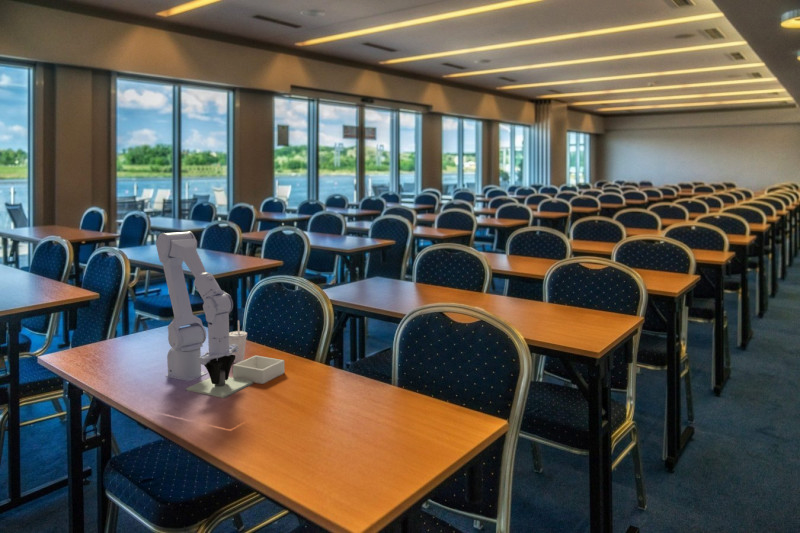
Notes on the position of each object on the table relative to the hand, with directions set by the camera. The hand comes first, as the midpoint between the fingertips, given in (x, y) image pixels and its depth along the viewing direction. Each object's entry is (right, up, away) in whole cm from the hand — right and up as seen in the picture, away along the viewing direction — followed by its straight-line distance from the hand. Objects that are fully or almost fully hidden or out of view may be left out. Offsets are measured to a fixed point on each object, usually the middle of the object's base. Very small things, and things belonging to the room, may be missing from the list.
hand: (219, 381), depth 173 cm
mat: (0, -2, 0) cm, 2 cm away
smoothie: (-1, +2, +24) cm, 24 cm away
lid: (0, -2, 0) cm, 2 cm away
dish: (+9, -1, +10) cm, 14 cm away
